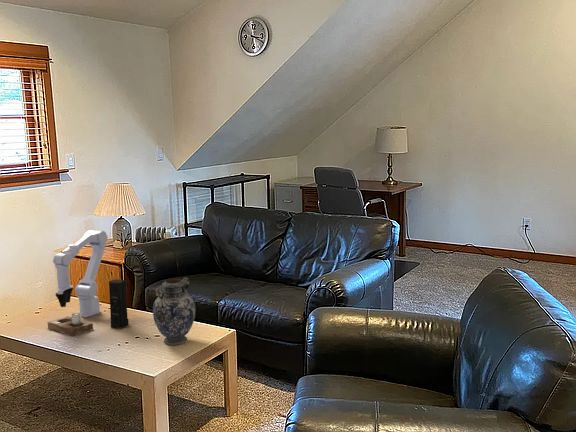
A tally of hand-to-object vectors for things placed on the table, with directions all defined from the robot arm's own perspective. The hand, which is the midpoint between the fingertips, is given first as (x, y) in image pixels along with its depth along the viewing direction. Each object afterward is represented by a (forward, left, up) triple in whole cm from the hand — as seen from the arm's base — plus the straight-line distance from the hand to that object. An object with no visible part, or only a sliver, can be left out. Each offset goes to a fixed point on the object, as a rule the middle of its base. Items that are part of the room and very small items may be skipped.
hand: (65, 304), depth 280 cm
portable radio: (-11, +26, -10) cm, 30 cm away
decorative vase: (-12, +64, -10) cm, 66 cm away
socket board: (+4, +9, -9) cm, 14 cm away
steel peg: (+4, +14, -9) cm, 17 cm away
